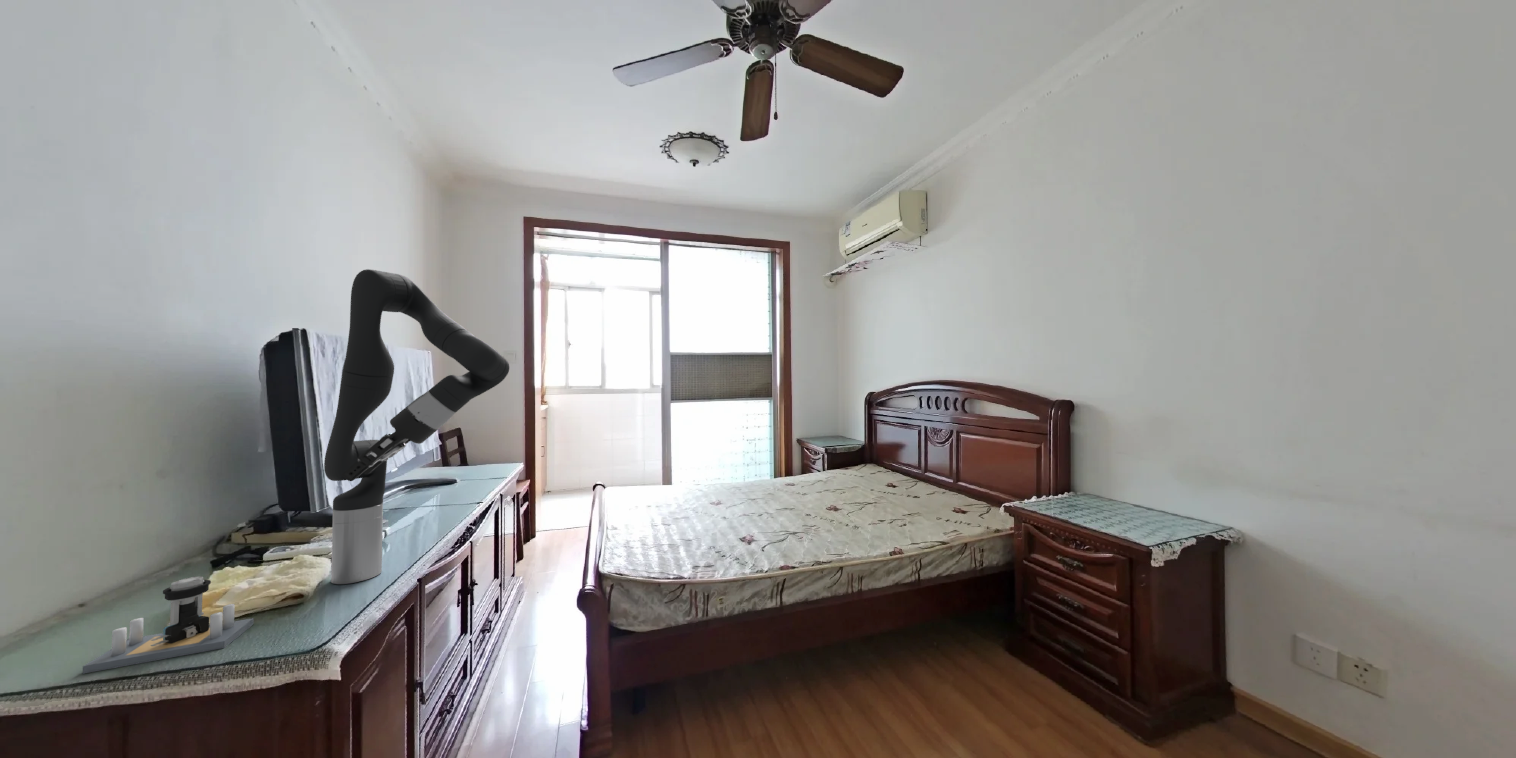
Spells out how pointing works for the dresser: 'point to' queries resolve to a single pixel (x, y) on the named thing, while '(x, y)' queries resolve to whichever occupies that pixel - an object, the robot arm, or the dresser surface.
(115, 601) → the dresser surface
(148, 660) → the pin tray
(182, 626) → the push button
